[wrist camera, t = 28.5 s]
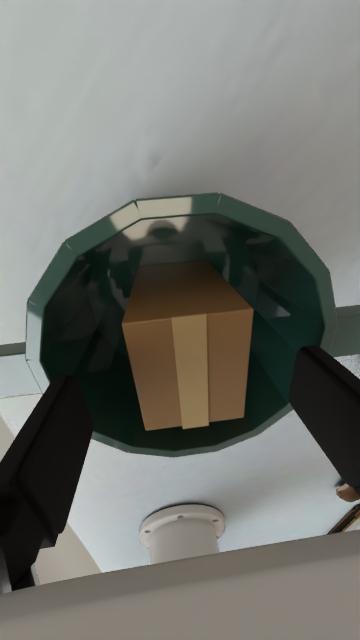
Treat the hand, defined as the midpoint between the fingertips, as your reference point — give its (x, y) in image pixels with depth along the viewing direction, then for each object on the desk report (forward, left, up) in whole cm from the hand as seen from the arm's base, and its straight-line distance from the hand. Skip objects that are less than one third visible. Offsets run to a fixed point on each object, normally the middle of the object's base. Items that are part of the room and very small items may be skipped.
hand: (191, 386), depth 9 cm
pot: (+1, 0, -8) cm, 8 cm away
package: (+1, 0, -8) cm, 8 cm away
